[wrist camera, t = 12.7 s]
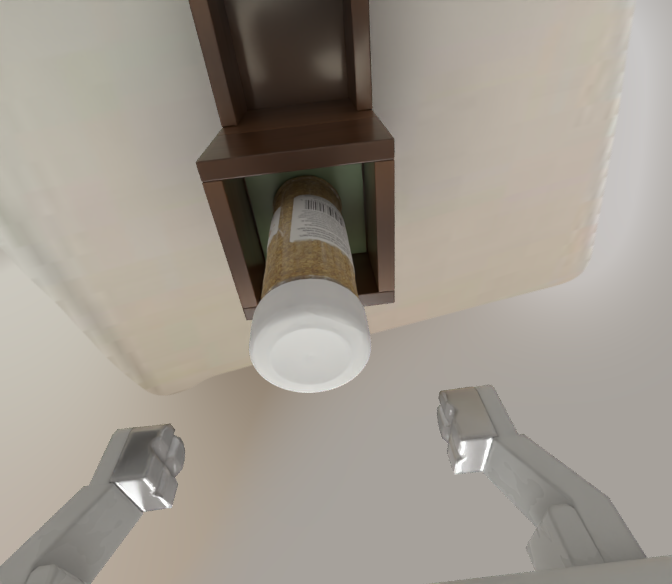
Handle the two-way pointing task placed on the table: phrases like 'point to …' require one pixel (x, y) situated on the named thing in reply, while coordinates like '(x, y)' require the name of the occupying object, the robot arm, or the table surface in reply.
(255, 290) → the caddy
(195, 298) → the table surface
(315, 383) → the sprinkles bottle
